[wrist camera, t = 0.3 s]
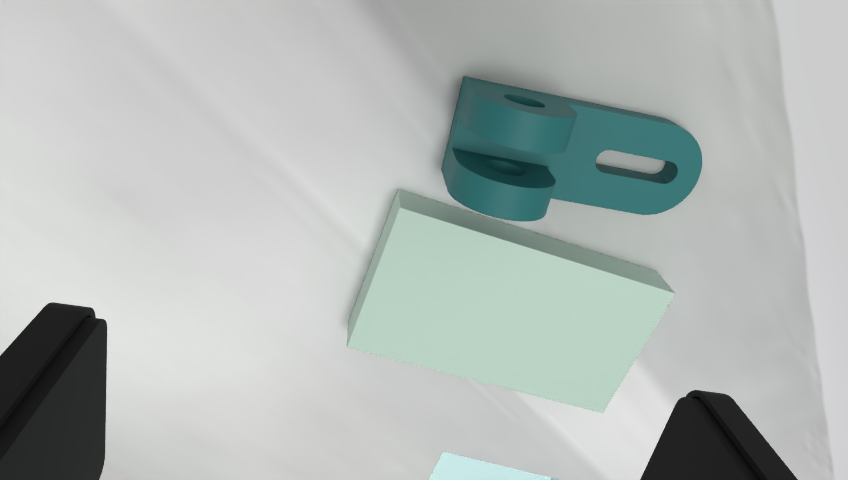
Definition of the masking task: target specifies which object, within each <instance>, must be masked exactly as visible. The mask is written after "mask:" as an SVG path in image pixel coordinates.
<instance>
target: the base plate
mask: <svg viewBox="0 0 848 480" xmlns="http://www.w3.org/2000/svg"><path fill="white" fill-rule="evenodd" d="M674 295H675V292H674V291H673V290H672V289H671V288H670V287H669V285H668V284H667V283H666V282H665V281H664V280H663V278H662V277H661V276H660V275H659V274H658V272H657V271H655V270H651V269H648V268H645V267H642V266H639V265H636V264H633V263H629V262H626V261H623V260H620V259H617V258H614V257H611V256H607V255H604V254H601V253H598V252H595V251H592V250H589V249H585V248H582V247H579V246H576V245H573V244H570V243H567V242H563V241H560V240H557V239H554V238H551V237H548V236H545V235H541V234H538V233H535V232H532V231H529V230H526V229H523V228H519V227H516V226H513V225H510V224H507V223H504V222H501V221H497V220H494V219H491V218H488V217H485V216H482V215H479V214H475V213H472V212H469V211H466V210H463V209H460V208H457V207H453V206H450V205H447V204H444V203H441V202H438V201H435V200H431V199H428V198H425V197H422V196H419V195H416V194H413V193H409V192H406V191H403V190H400V189H398V190H397V193H396V196H395V198H394V201H393V204H392V206H391V209H390V212H389V214H388V217H387V220H386V222H385V225H384V228H383V230H382V233H381V236H380V239H379V241H378V244H377V247H376V249H375V252H374V255H373V257H372V260H371V263H370V265H369V268H368V271H367V273H366V276H365V279H364V281H363V284H362V287H361V289H360V292H359V295H358V298H357V300H356V303H355V306H354V308H353V311H352V314H351V316H350V319H349V322H348V338H347V348H351V349H355V350H359V351H362V352H366V353H370V354H374V355H378V356H382V357H386V358H390V359H394V360H398V361H401V362H405V363H409V364H413V365H417V366H421V367H425V368H429V369H433V370H436V371H440V372H444V373H448V374H452V375H456V376H460V377H464V378H468V379H472V380H475V381H479V382H483V383H487V384H491V385H495V386H499V387H503V388H507V389H510V390H514V391H518V392H522V393H526V394H530V395H534V396H538V397H542V398H546V399H549V400H553V401H557V402H561V403H565V404H569V405H573V406H577V407H581V408H584V409H588V410H592V411H596V412H600V413H603V412H604V411H605V409H606V407H607V406H608V404H609V402H610V401H611V399H612V397H613V396H614V394H615V392H616V391H617V389H618V387H619V386H620V384H621V383H622V381H623V379H624V378H625V376H626V374H627V373H628V371H629V369H630V368H631V366H632V364H633V363H634V361H635V359H636V358H637V356H638V354H639V353H640V351H641V350H642V348H643V346H644V345H645V343H646V341H647V340H648V338H649V336H650V335H651V333H652V331H653V330H654V328H655V326H656V325H657V323H658V321H659V320H660V318H661V316H662V315H663V313H664V312H665V310H666V308H667V307H668V305H669V303H670V302H671V300H672V298H673V297H674Z"/></svg>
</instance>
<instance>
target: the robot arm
mask: <svg viewBox="0 0 848 480" xmlns="http://www.w3.org/2000/svg"><path fill="white" fill-rule="evenodd" d="M106 364H107V323H106V321H105V320H104V319H97V318H95V312H94V310H93V309H92V308H90V307H82V306H75V305H68V304H60V303H49V304H47V305H46V306H45V307H44V308H43V309H42V310H41V311H40V312H39V313H38V315H37V316H36V317H35V318H34V319H33V320H32V321H31V322H30V324H29V325H28V326H27V327H26V328H25V329H24V330H23V331H22V332H21V334H20V335H19V336H18V337H17V338H16V339H15V340H14V341H13V342H12V344H11V345H10V346H9V347H8V348H7V349H6V350H5V351H4V352H3V354H2V355H1V356H0V480H99V478H100V476H101V473H102V469H103V465H104V460H105V422H106ZM640 480H798V479H797V478H796V477H795V476H794V474H793V473H792V472H791V471H790V470H789V468H788V467H787V466H786V465H785V463H784V462H783V461H782V460H781V458H780V457H779V456H778V455H777V453H776V452H775V451H774V450H773V448H772V447H771V446H770V445H769V443H768V442H767V441H766V440H765V438H764V437H763V436H762V435H761V433H760V432H759V431H758V430H757V428H756V427H755V426H754V425H753V424H752V422H751V421H750V420H749V419H748V417H747V416H746V415H745V414H744V412H743V411H742V410H741V409H740V407H739V406H738V405H737V404H736V402H735V401H734V400H733V399H732V398H731V397H730V396H729V395H726V394H721V393H714V392H706V391H699V390H694V391H691V392H690V393H688V394H687V396H686V397H683V398H681V399H679V400H678V402H677V403H676V405H675V407H674V409H673V411H672V413H671V416H670V418H669V420H668V422H667V424H666V426H665V428H664V430H663V433H662V435H661V437H660V439H659V441H658V443H657V445H656V447H655V450H654V452H653V454H652V456H651V458H650V460H649V462H648V465H647V467H646V469H645V471H644V473H643V475H642V477H641V479H640Z"/></svg>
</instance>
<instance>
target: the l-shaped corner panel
mask: <svg viewBox="0 0 848 480" xmlns="http://www.w3.org/2000/svg"><path fill="white" fill-rule="evenodd" d="M429 480H558V479H554V478H550V477H546V476H542V475H538V474H533V473H529V472H525V471H521V470H517V469H513V468H509V467H505V466H501V465H497V464H492V463H488V462H484V461H480V460H476V459H472V458H468V457H464V456H460V455H456V454H451V453H447V452H443V453H442V455H441V457H440V459H439V461H438V463H437V465H436V467H435V469H434V471H433V472H432V474H431V476H430V478H429Z"/></svg>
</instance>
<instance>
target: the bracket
mask: <svg viewBox="0 0 848 480" xmlns="http://www.w3.org/2000/svg"><path fill="white" fill-rule="evenodd" d="M605 150H614V151H619V152H624V153H629V154H634V155H639V156H644V157H650V158H655V159H660V160H665V161H666V164H665V167H664V168H663V169H662V171H660V172H659V173H657V174H647V173H642V172H637V171H632V170H627V169H621V168H616V167H611V166H606V165H601V164H595V162H596V158H597V156H598V155H599V154H600V153H601V152H603V151H605ZM701 168H702V154H701V150H700V147H699V145H698V143H697V141H696V140H695V138H694V137H693V136H692V135H691V134H690V133H689V132H687V131H686V130H685V129H683V128H681V127H680V126H678V125H676V124H675V123H673V122H671V121H670V120H667V119H665V118H661V117H656V116H651V115H647V114H642V113H637V112H632V111H627V110H623V109H618V108H613V107H608V106H603V105H599V104H594V103H589V102H584V101H579V100H575V99H570V98H565V97H560V96H555V95H551V94H546V93H541V92H536V91H531V90H527V89H522V88H517V87H512V86H507V85H503V84H498V83H493V82H488V81H483V80H479V79H474V78H469V77H463V81H462V85H461V89H460V94H459V98H458V102H457V106H456V110H455V114H454V119H453V123H452V127H451V131H450V135H449V140H448V144H447V148H446V152H445V156H444V160H443V165H442V173H443V176H444V179H445V183H446V186H447V190H448V192H449V194H450V195H451V196H452V197H453V198H454V199H455V200H456V201H458V202H459V203H461V204H462V205H464V206H466V207H468V208H470V209H472V210H475V211H477V212H480V213H483V214H486V215H489V216H492V217H496V218H501V219H506V220H512V221H535V220H539V219H541V218H543V217H544V216H545V214H546V211H547V208H548V205H549V202H550V198H553V199H558V200H564V201H569V202H575V203H580V204H586V205H591V206H597V207H602V208H608V209H613V210H619V211H625V212H630V213H636V214H642V215H650V214H657V213H661V212H664V211H667V210H669V209H671V208H673V207H674V206H676V205H678V204H679V203H680V202H681V201H683V200H684V199H685V198H686V197H687V196H688V195H689V194H690V192H691V191H692V190H693V188H694V187H695V185H696V183H697V181H698V179H699V176H700V173H701Z"/></svg>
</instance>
